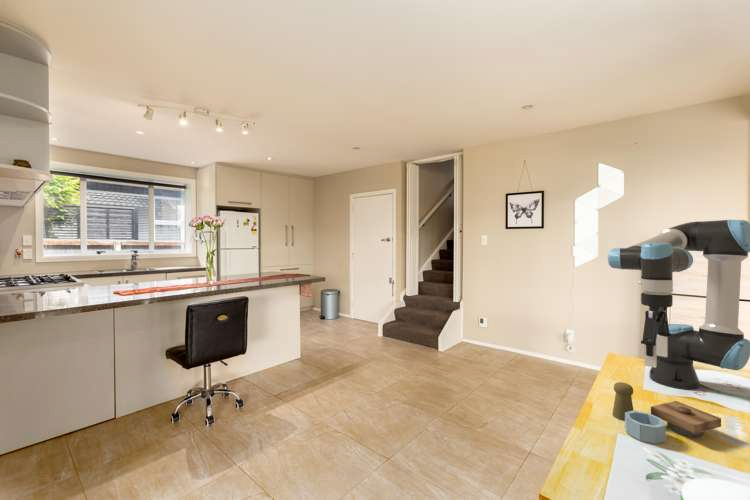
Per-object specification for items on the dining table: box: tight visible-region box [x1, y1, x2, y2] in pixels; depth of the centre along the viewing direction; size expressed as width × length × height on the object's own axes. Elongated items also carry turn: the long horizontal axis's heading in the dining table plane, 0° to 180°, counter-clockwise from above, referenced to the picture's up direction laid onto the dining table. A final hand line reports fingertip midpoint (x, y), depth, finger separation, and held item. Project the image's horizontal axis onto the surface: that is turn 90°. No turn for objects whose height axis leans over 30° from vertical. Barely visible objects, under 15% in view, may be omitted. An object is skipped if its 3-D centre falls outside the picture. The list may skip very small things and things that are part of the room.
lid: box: [650, 400, 722, 434], centre depth 103 cm, size 12×12×4 cm
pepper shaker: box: [612, 381, 635, 422], centre depth 111 cm, size 6×6×11 cm
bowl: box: [624, 410, 667, 445], centre depth 101 cm, size 9×9×5 cm
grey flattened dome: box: [666, 422, 704, 439], centre depth 103 cm, size 8×8×3 cm
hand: (656, 361), depth 106 cm, fingers open, 13 cm apart
